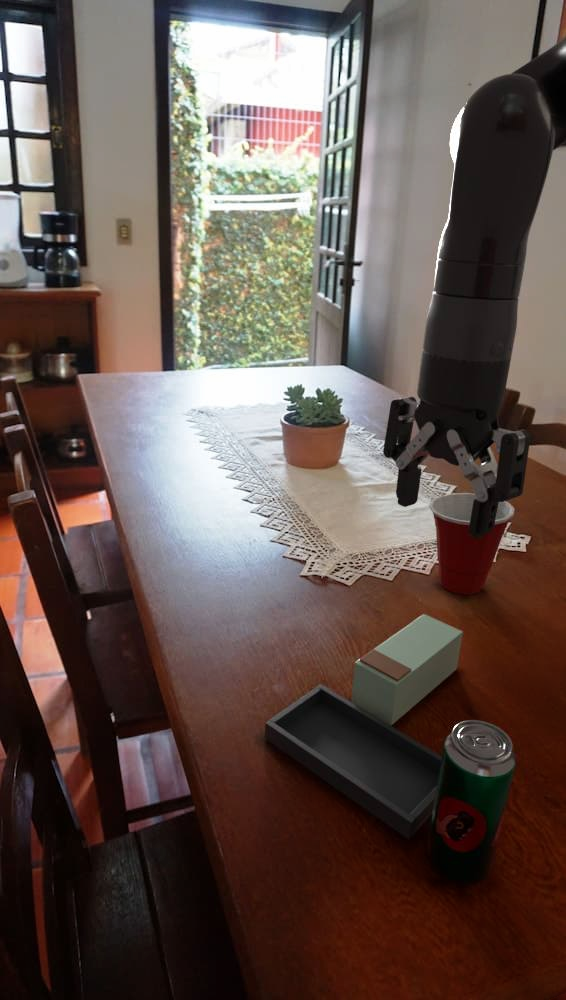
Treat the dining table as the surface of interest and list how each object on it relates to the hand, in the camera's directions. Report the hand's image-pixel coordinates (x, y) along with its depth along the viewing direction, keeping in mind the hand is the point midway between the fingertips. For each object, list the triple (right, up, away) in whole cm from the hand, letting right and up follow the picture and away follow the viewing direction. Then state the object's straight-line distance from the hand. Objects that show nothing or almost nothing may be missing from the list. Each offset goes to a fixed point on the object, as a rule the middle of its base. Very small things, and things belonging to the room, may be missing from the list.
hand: (440, 519), depth 65 cm
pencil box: (-2, -18, +8) cm, 20 cm away
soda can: (-1, -27, -12) cm, 29 cm away
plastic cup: (+9, -10, +29) cm, 32 cm away
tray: (-8, -22, -2) cm, 24 cm away
